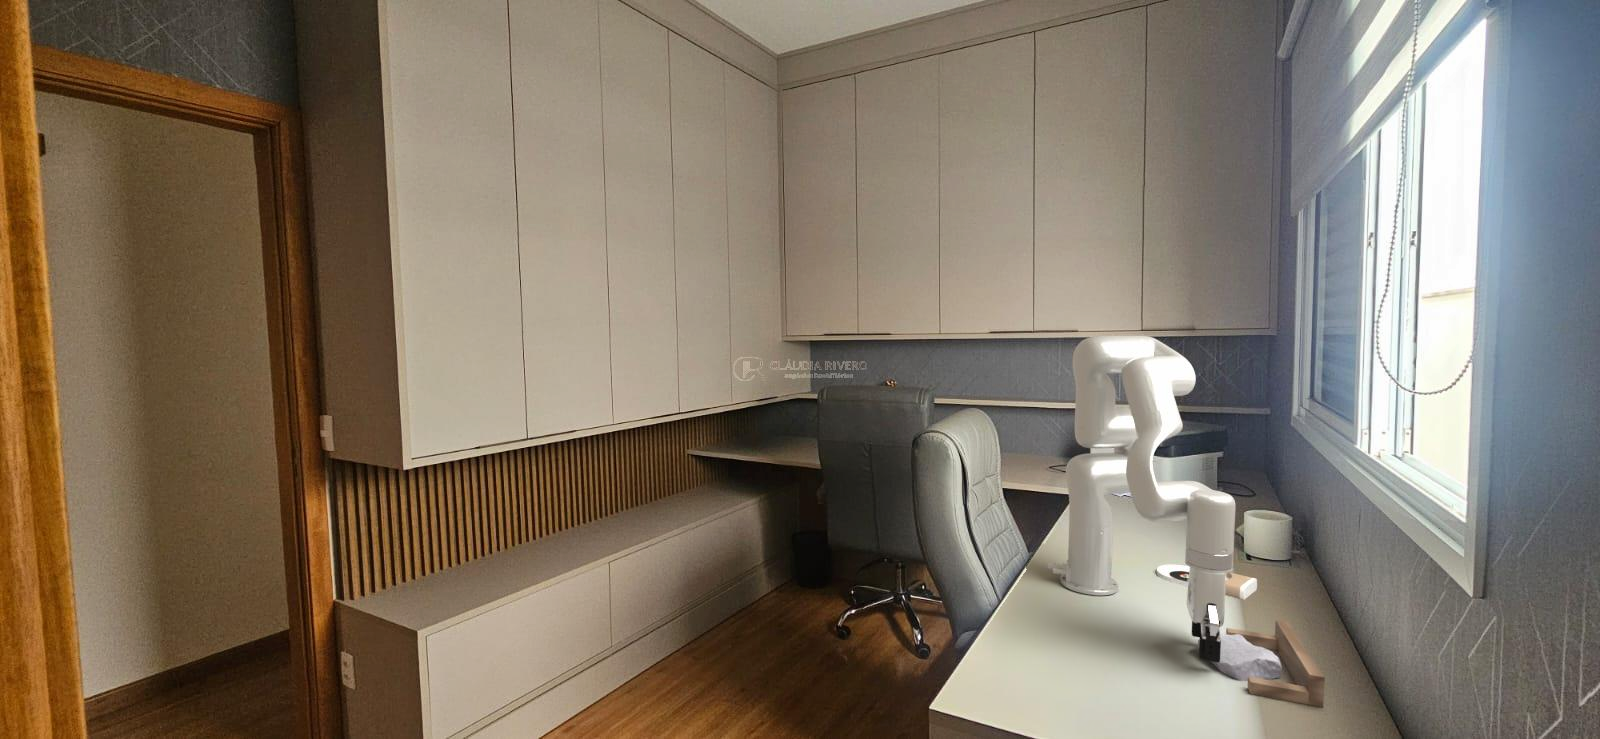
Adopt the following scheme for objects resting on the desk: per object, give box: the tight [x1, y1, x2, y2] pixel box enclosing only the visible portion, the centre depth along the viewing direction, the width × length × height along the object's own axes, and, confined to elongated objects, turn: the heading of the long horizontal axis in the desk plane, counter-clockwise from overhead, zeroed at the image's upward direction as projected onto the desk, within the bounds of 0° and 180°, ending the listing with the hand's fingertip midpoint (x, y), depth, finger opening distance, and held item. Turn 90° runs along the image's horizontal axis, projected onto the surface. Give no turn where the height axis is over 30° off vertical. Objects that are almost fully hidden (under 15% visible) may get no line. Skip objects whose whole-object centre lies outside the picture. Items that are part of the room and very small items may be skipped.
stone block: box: [1196, 633, 1283, 682], centre depth 122 cm, size 12×5×10 cm
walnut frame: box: [1225, 620, 1326, 708], centre depth 120 cm, size 10×22×5 cm, turn 156°
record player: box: [1156, 564, 1258, 601], centre depth 161 cm, size 12×3×20 cm
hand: (1205, 648), depth 124 cm, fingers open, 9 cm apart
